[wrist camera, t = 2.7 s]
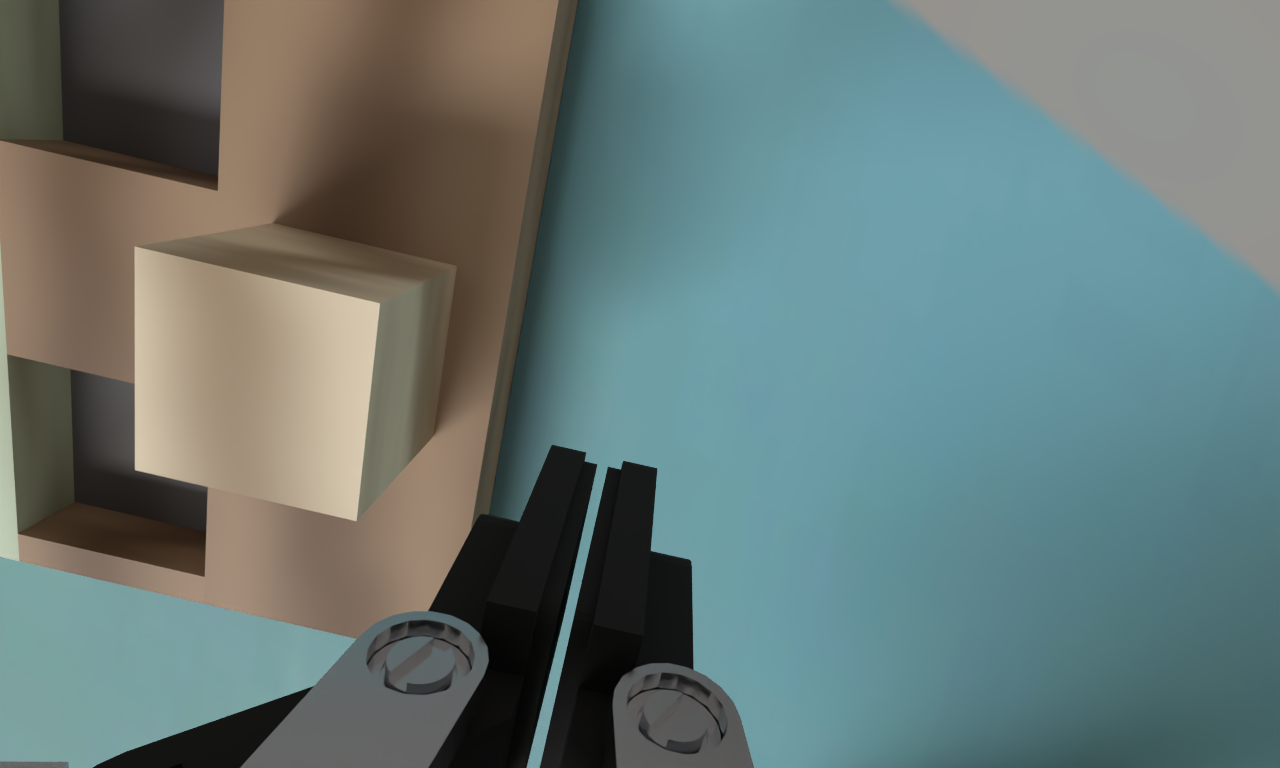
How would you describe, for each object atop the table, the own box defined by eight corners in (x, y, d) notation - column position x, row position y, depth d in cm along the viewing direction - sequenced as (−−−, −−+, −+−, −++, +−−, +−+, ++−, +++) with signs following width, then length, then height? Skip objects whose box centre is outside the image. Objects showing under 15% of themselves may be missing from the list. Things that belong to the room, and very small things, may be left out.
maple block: (457, 265, 19) (379, 303, 14) (433, 436, 21) (356, 521, 16) (272, 222, 19) (134, 246, 14) (262, 397, 21) (135, 469, 16)
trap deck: (580, -12, 19) (564, -36, 17) (471, 612, 25) (449, 659, 23) (-232, -202, 19) (-364, -252, 17) (-142, 471, 25) (-228, 504, 23)
